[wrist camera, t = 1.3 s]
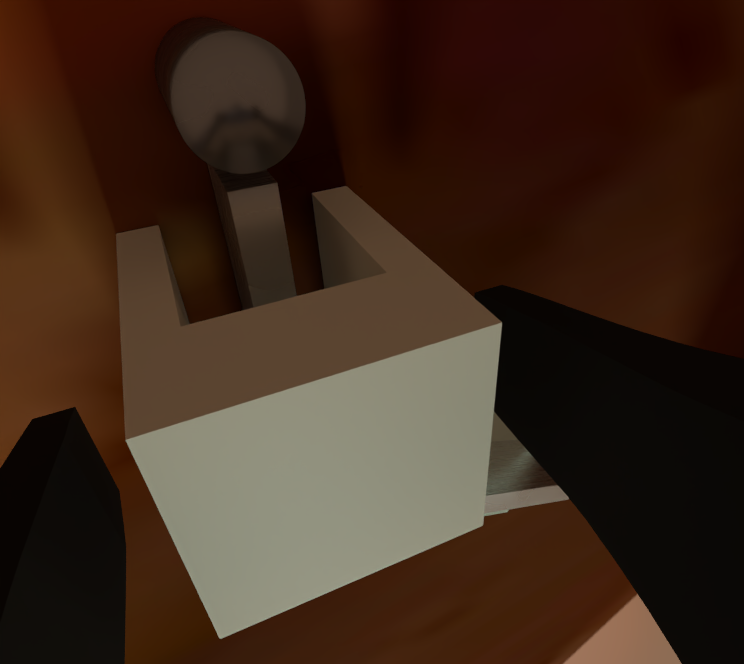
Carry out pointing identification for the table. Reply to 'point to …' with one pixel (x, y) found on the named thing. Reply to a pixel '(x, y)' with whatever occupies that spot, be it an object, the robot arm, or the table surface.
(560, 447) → the robot arm
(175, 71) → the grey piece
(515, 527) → the table surface
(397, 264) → the u block
